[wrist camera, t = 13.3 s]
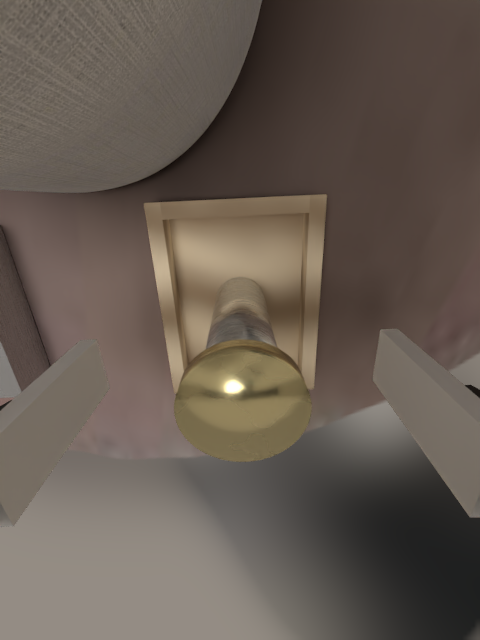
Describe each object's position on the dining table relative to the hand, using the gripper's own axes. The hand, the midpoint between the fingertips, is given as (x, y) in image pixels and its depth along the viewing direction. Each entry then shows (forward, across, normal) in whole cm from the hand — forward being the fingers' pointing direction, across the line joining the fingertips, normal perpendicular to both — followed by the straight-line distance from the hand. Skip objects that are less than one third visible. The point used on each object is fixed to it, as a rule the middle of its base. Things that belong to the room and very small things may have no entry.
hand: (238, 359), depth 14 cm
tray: (+9, 0, 0) cm, 9 cm away
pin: (+9, 0, 0) cm, 9 cm away
